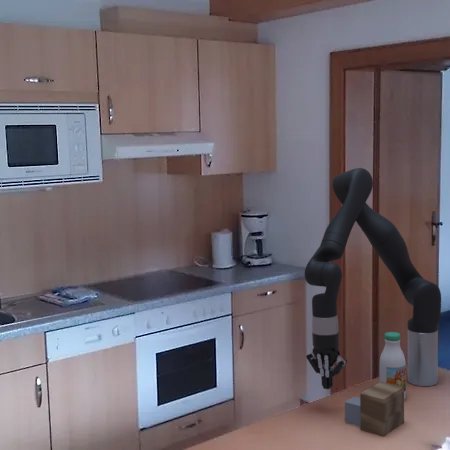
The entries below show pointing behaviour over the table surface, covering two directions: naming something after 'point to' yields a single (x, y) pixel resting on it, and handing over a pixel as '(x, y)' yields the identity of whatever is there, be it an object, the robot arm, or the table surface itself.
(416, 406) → the table surface
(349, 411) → the pale blue brick
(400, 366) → the milk bottle
